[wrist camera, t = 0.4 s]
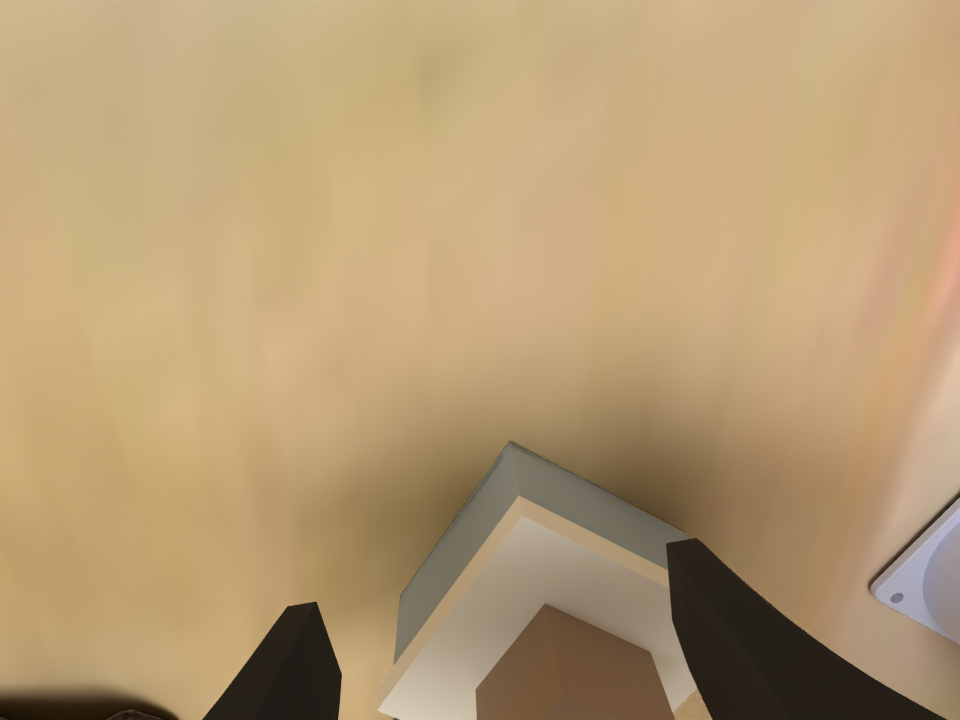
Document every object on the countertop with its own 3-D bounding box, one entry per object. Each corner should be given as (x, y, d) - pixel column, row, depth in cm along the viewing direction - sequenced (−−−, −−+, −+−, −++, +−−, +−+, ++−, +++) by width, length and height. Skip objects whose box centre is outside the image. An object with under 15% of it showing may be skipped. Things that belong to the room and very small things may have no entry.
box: (685, 532, 25) (727, 609, 21) (567, 669, 27) (586, 759, 23) (509, 440, 23) (521, 506, 19) (400, 596, 25) (392, 681, 22)
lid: (739, 606, 21) (805, 721, 17) (588, 767, 24) (616, 899, 20) (518, 495, 19) (537, 597, 15) (379, 684, 22) (364, 813, 18)
